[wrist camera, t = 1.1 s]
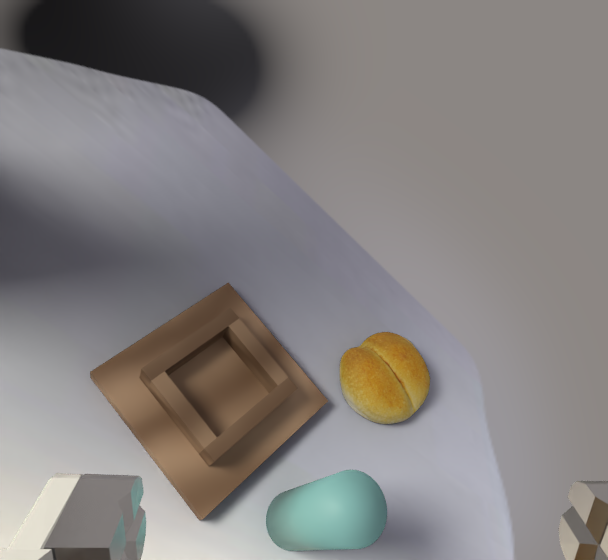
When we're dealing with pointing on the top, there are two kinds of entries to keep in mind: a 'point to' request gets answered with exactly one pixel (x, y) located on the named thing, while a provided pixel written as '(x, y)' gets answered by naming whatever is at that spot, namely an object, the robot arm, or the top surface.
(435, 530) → the top surface
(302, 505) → the teal post
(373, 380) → the bread roll
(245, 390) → the walnut base
